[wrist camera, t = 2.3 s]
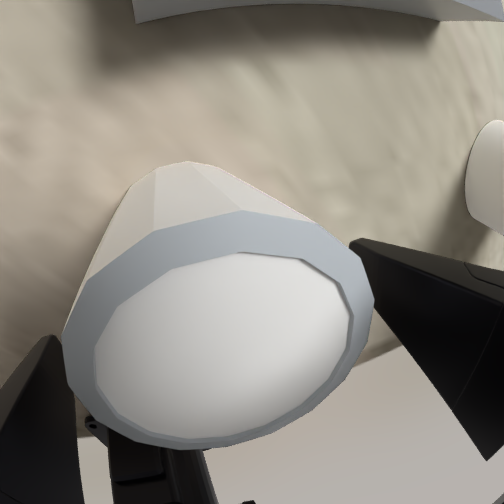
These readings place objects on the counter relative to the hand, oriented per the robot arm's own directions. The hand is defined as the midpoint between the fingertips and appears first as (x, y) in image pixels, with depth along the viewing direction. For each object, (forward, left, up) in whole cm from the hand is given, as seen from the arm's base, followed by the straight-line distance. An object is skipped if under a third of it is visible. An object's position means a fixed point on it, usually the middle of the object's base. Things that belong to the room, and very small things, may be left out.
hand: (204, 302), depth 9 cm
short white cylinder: (0, 0, -4) cm, 4 cm away
